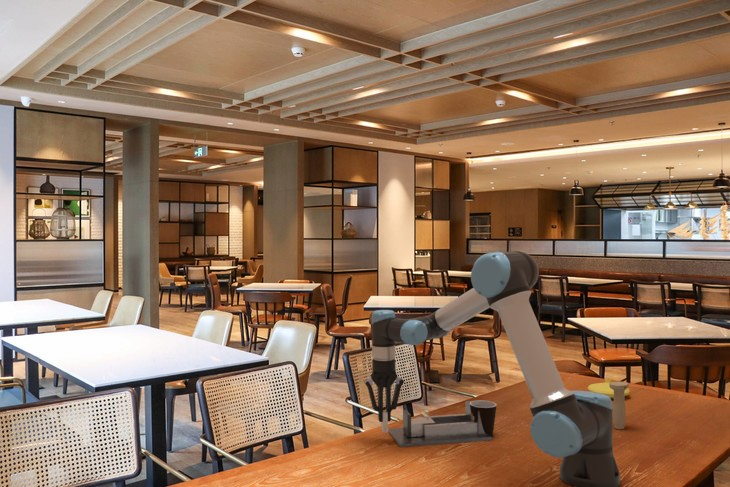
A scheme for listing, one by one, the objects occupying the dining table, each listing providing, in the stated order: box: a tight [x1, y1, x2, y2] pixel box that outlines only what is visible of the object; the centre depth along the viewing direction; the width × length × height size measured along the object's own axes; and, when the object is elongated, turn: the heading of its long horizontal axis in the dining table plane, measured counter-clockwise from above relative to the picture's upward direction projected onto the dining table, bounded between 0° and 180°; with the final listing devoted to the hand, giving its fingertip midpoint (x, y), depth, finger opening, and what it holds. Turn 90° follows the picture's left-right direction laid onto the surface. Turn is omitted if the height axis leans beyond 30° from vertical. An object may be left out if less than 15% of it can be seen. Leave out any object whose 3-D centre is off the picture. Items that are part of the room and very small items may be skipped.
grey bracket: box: [402, 409, 435, 437], centre depth 204 cm, size 11×9×7 cm
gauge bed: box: [388, 400, 492, 448], centre depth 202 cm, size 16×30×9 cm, turn 100°
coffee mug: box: [470, 399, 498, 438], centre depth 204 cm, size 12×9×10 cm
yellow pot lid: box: [587, 377, 631, 399], centre depth 248 cm, size 16×16×7 cm
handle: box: [609, 381, 630, 430], centre depth 207 cm, size 5×6×15 cm
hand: (384, 431), depth 199 cm, fingers closed
